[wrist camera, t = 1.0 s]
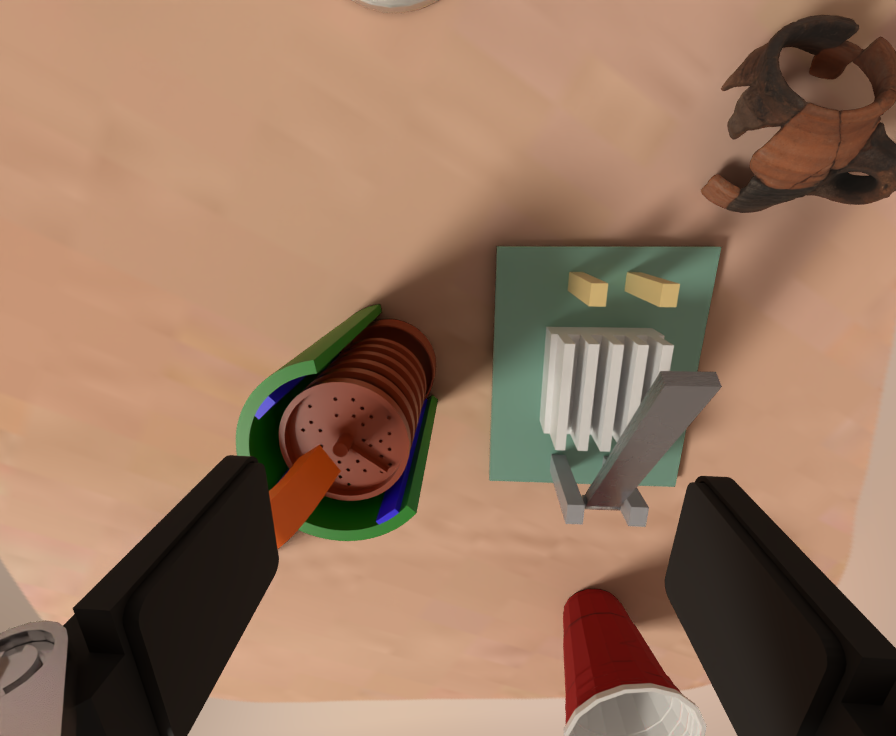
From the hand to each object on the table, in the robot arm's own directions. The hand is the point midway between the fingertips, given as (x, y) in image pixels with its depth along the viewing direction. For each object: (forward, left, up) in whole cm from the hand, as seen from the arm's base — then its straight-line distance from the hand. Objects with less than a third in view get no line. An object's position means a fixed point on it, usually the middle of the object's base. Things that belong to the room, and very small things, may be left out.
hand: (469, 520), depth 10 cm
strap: (+7, +10, -16) cm, 20 cm away
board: (+5, +10, -26) cm, 28 cm away
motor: (+5, -7, -26) cm, 28 cm away
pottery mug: (-11, +20, -27) cm, 35 cm away
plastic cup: (+31, +13, -26) cm, 42 cm away
